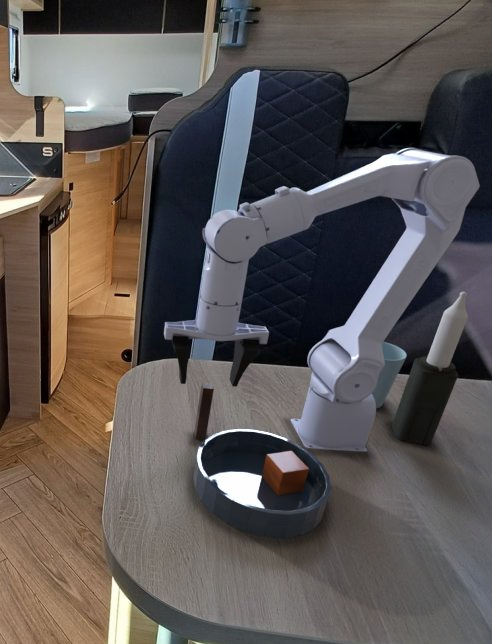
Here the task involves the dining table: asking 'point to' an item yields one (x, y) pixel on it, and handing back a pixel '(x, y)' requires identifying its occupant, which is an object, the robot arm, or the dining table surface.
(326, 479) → the bowl
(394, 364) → the cup
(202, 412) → the stick
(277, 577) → the dining table surface
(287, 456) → the block
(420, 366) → the candle
